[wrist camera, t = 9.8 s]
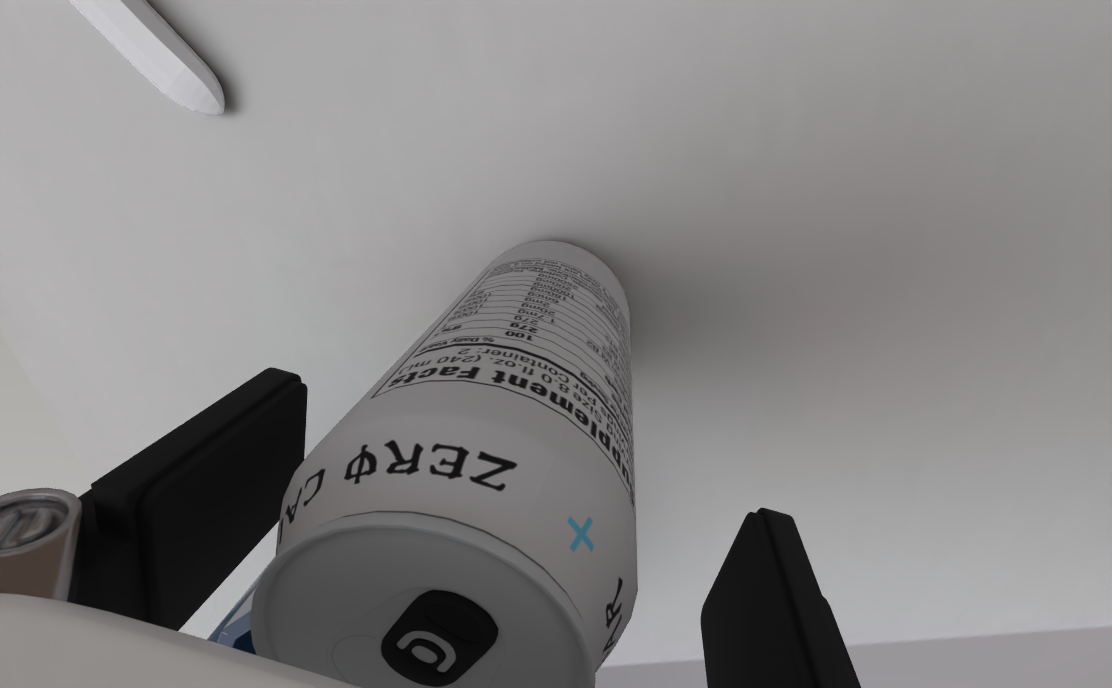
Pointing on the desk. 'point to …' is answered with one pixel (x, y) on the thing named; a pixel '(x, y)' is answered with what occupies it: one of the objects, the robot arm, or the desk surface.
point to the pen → (156, 52)
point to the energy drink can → (472, 497)
